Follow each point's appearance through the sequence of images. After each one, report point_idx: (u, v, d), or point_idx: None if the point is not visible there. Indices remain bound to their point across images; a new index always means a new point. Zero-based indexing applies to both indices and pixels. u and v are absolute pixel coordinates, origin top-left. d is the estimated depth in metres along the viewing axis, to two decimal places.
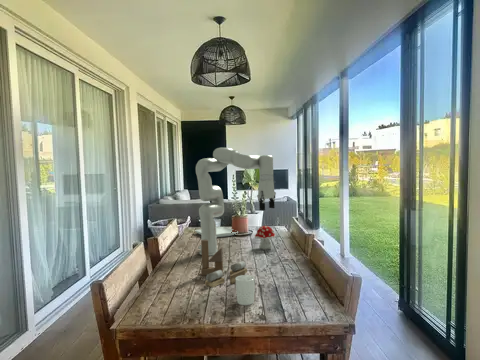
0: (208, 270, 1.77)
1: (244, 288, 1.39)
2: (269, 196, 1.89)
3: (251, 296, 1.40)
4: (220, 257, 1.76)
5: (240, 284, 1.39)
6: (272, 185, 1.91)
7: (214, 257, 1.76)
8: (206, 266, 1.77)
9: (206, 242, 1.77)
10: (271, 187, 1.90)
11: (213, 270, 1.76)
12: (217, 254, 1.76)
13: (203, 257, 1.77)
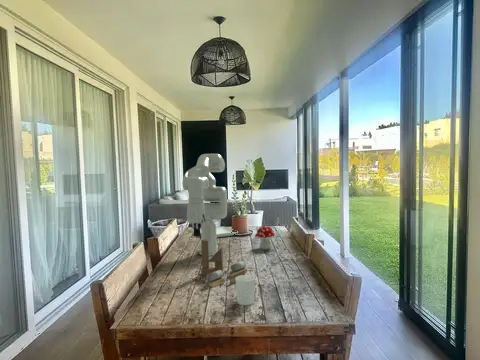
0: (208, 270, 1.77)
1: (244, 288, 1.39)
2: None
3: (251, 296, 1.40)
4: (220, 257, 1.76)
5: (240, 284, 1.39)
6: None
7: (214, 257, 1.76)
8: (206, 266, 1.77)
9: (206, 242, 1.77)
10: None
11: (213, 270, 1.76)
12: (217, 254, 1.76)
13: (203, 257, 1.77)
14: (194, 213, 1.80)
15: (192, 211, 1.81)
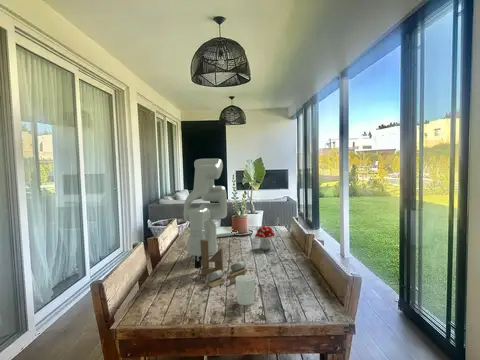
0: (208, 270, 1.77)
1: (244, 288, 1.39)
2: None
3: (251, 296, 1.40)
4: (220, 257, 1.76)
5: (240, 284, 1.39)
6: None
7: (214, 257, 1.76)
8: (206, 266, 1.77)
9: (206, 242, 1.77)
10: None
11: (213, 270, 1.76)
12: (217, 254, 1.76)
13: (203, 257, 1.77)
14: (195, 246, 1.81)
15: (193, 243, 1.82)
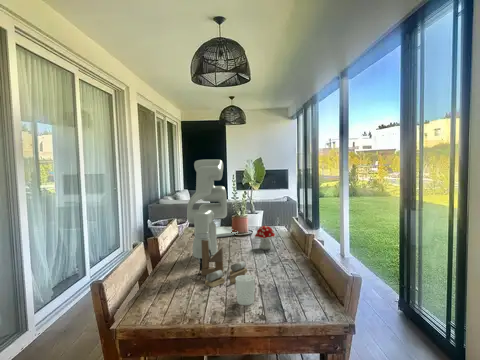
0: (208, 270, 1.76)
1: (244, 288, 1.39)
2: None
3: (251, 296, 1.40)
4: (220, 257, 1.75)
5: (240, 284, 1.39)
6: None
7: (214, 257, 1.76)
8: (206, 266, 1.77)
9: (206, 242, 1.76)
10: None
11: (213, 270, 1.76)
12: (217, 254, 1.76)
13: (203, 257, 1.76)
14: (200, 248, 1.79)
15: (198, 246, 1.80)
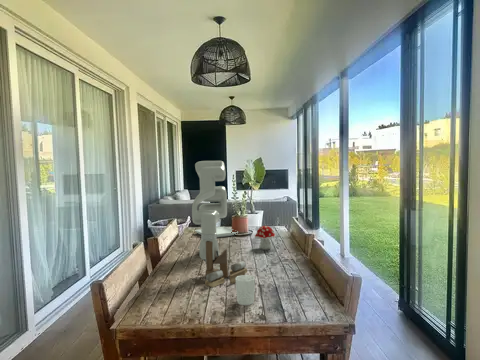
0: None
1: (244, 288, 1.39)
2: None
3: (251, 296, 1.40)
4: (225, 259, 1.72)
5: (240, 284, 1.39)
6: None
7: (219, 259, 1.72)
8: (211, 268, 1.73)
9: (211, 243, 1.73)
10: None
11: None
12: (222, 256, 1.72)
13: (208, 259, 1.73)
14: None
15: (205, 247, 1.76)
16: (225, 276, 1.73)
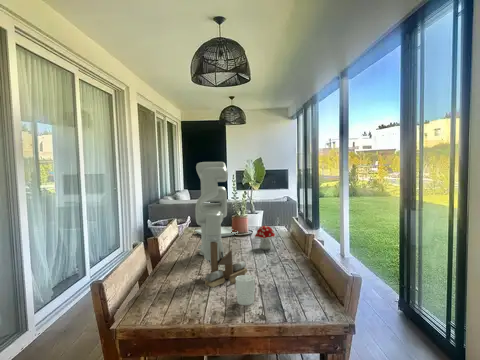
0: None
1: (244, 288, 1.39)
2: None
3: (251, 296, 1.40)
4: (230, 260, 1.70)
5: (240, 284, 1.39)
6: None
7: (224, 260, 1.71)
8: (216, 269, 1.71)
9: (215, 244, 1.71)
10: None
11: (223, 273, 1.71)
12: (227, 257, 1.70)
13: (212, 260, 1.71)
14: None
15: None
16: None
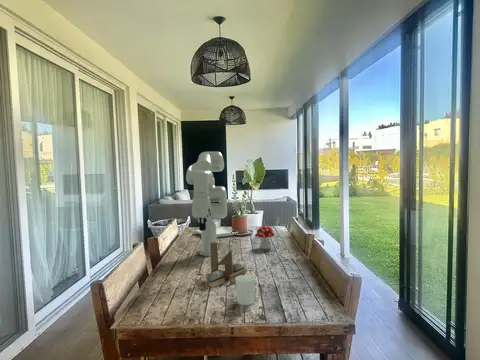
0: None
1: (244, 288, 1.39)
2: None
3: (251, 296, 1.40)
4: (230, 260, 1.70)
5: (240, 284, 1.39)
6: None
7: (224, 260, 1.71)
8: (216, 269, 1.71)
9: (216, 244, 1.71)
10: None
11: (223, 273, 1.71)
12: (227, 257, 1.70)
13: (212, 260, 1.71)
14: (199, 207, 1.77)
15: (197, 205, 1.78)
16: None
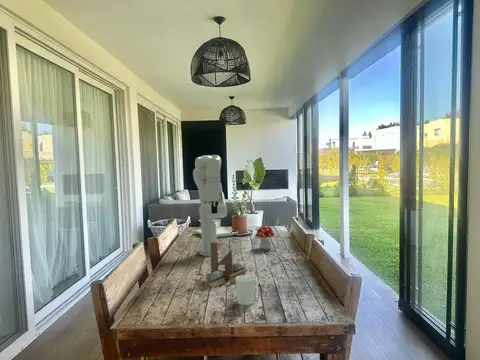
0: None
1: (244, 288, 1.39)
2: None
3: (251, 296, 1.40)
4: (230, 260, 1.70)
5: (240, 284, 1.39)
6: None
7: (224, 260, 1.71)
8: (216, 269, 1.71)
9: (216, 244, 1.71)
10: None
11: (223, 273, 1.71)
12: (227, 257, 1.70)
13: (212, 260, 1.71)
14: (212, 191, 1.90)
15: (210, 189, 1.91)
16: None
